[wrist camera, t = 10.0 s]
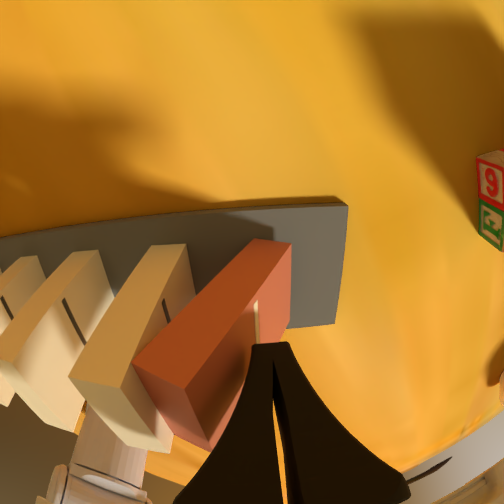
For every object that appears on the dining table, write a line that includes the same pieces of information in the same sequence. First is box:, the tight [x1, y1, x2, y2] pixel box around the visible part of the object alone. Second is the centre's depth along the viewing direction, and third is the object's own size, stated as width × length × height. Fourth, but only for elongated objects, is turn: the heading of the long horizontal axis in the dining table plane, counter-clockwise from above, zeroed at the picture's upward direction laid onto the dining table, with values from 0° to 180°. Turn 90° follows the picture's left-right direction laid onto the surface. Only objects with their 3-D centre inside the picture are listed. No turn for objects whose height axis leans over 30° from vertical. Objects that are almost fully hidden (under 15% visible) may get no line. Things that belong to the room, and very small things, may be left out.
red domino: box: [131, 238, 292, 452], centre depth 11 cm, size 2×5×9 cm, turn 4°
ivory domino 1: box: [0, 255, 46, 407], centre depth 11 cm, size 2×5×9 cm, turn 3°
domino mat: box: [0, 203, 348, 329], centre depth 16 cm, size 28×8×1 cm, turn 93°
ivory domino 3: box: [68, 244, 196, 454], centre depth 11 cm, size 2×5×9 cm, turn 3°
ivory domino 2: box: [0, 250, 114, 432], centre depth 11 cm, size 2×5×9 cm, turn 3°
